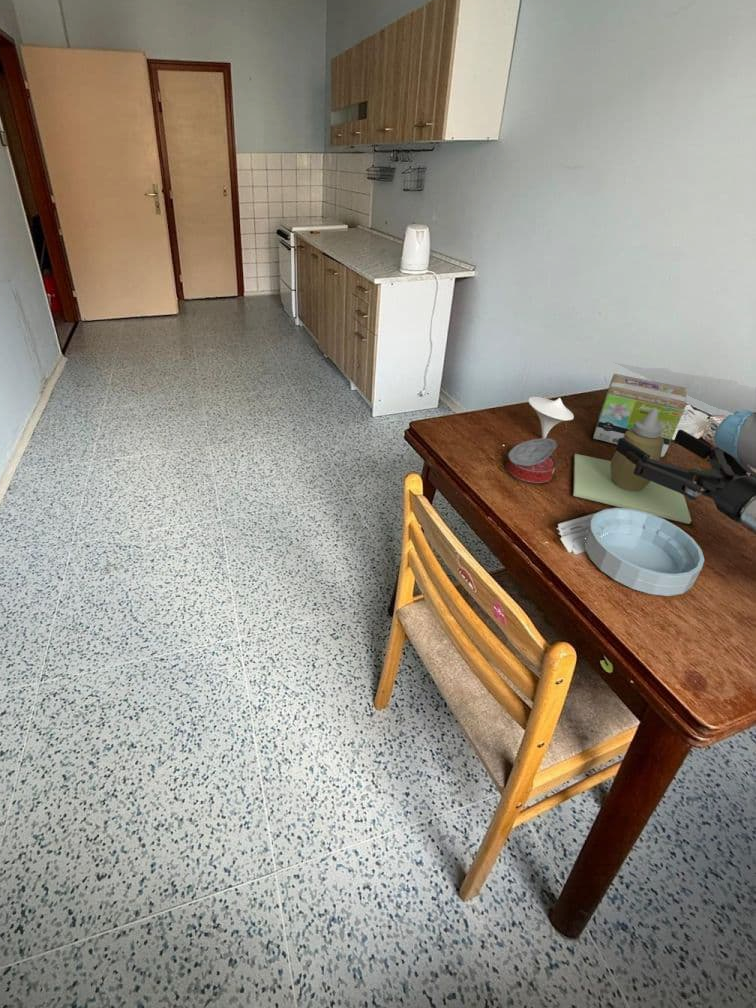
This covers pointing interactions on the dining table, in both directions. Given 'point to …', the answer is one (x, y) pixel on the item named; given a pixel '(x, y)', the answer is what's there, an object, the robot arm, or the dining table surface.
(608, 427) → the tea box
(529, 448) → the canned food
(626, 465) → the squeeze bottle
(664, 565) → the bowl
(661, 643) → the dining table surface
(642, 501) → the mat
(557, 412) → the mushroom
